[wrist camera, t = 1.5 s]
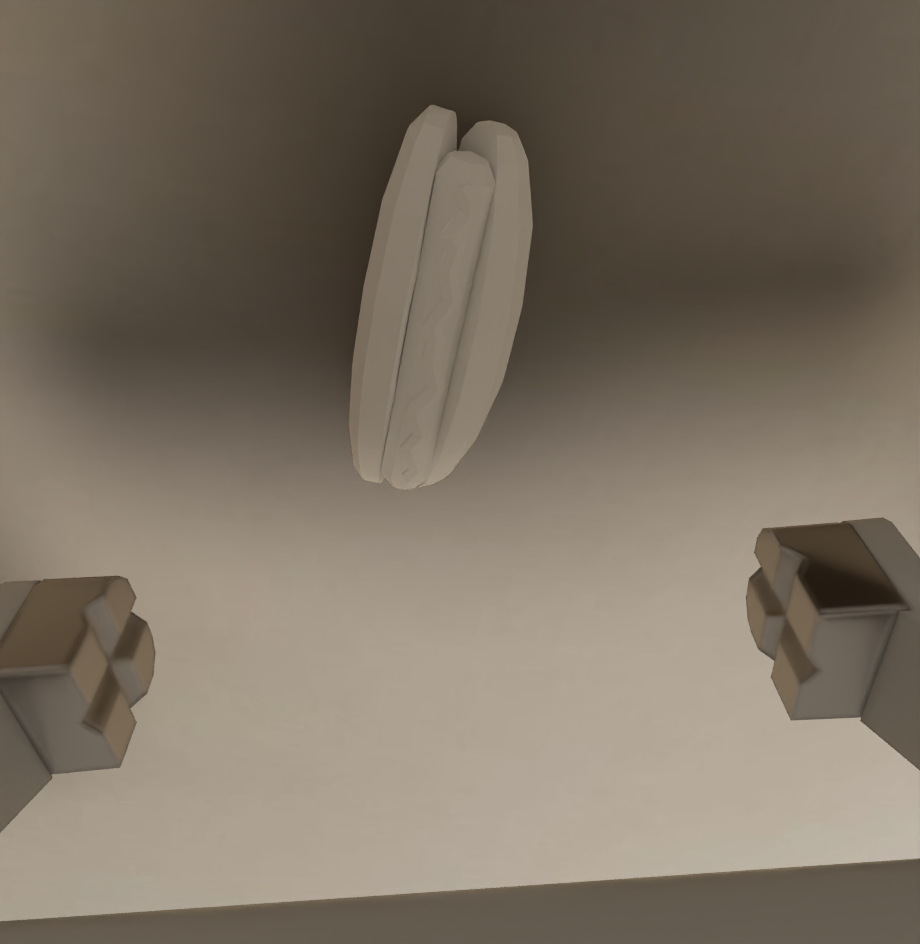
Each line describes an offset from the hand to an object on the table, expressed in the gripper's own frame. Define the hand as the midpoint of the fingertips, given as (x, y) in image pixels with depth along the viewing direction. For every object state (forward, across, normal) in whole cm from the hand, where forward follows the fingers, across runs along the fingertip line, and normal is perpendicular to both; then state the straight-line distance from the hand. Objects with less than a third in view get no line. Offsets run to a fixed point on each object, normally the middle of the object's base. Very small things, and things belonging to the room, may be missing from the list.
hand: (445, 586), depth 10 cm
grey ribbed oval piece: (+9, 0, 0) cm, 9 cm away
